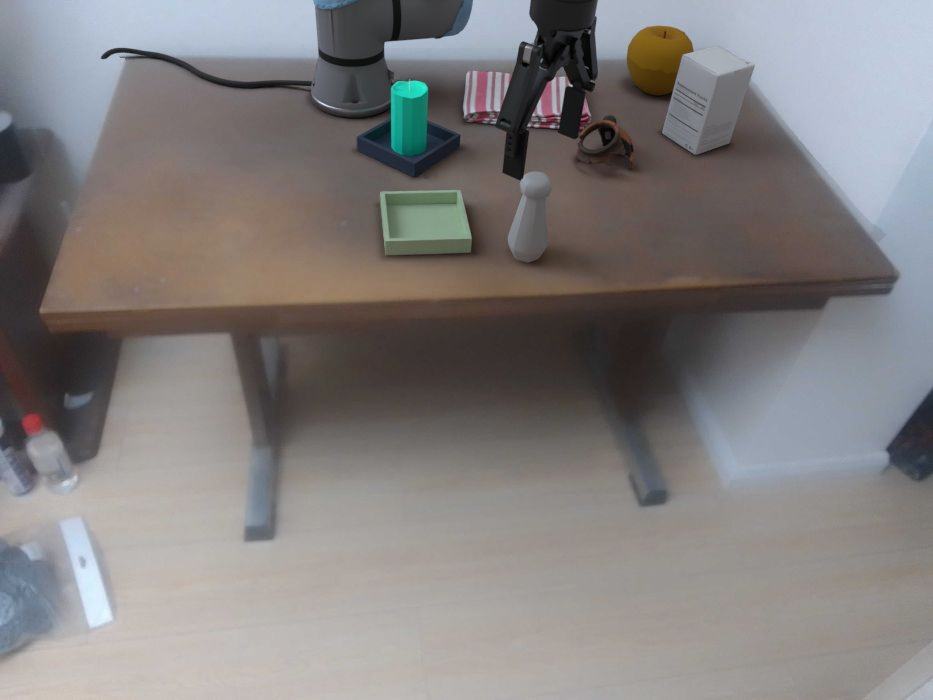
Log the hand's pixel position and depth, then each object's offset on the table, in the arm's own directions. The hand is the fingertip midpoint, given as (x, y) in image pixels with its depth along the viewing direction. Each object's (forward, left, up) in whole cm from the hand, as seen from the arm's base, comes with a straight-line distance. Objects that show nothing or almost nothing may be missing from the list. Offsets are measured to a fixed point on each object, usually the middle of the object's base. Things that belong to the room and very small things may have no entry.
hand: (541, 154), depth 100 cm
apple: (-10, +62, -17) cm, 65 cm away
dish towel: (-25, +38, -17) cm, 49 cm away
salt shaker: (0, 0, -17) cm, 17 cm away
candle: (-31, +11, -16) cm, 37 cm away
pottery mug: (-4, +31, -17) cm, 36 cm away
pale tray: (-15, -5, -17) cm, 23 cm away
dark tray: (-31, +11, -17) cm, 37 cm away
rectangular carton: (+5, +49, -17) cm, 52 cm away
